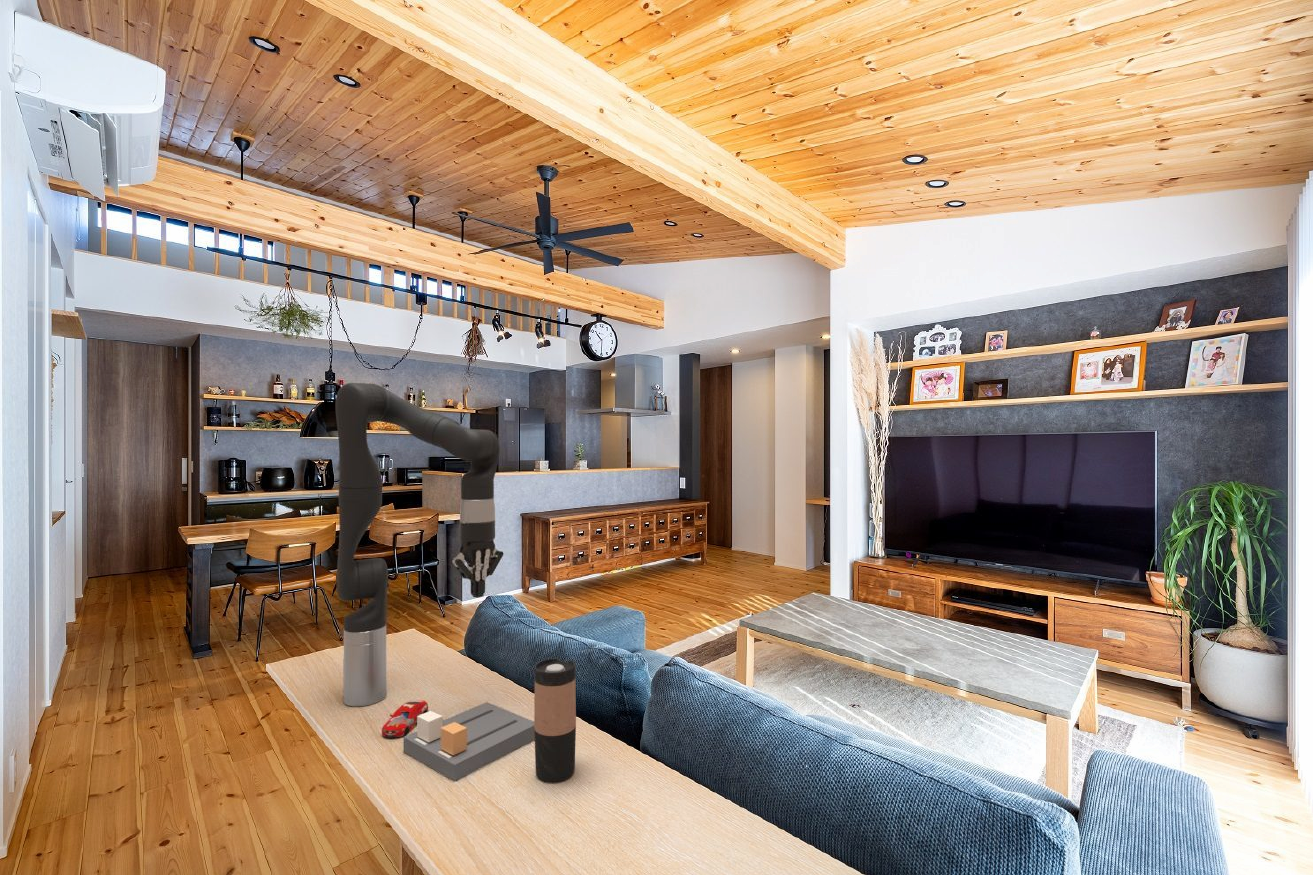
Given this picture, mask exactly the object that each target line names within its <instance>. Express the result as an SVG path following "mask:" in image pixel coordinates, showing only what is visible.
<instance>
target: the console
mask: <svg viewBox="0 0 1313 875" xmlns="http://www.w3.org/2000/svg"><path fill="white" fill-rule="evenodd" d="M453 722H456V723H458V724H460V725H462V726H464V727H466V728H467V749H466V750H464V751H462V752H460V753H457V754H455V755H451V754H449V753H448V752H446V751H444V750H442V749H441V737H440V738H438V739H436V740H433V741H431V742H427V741H425V740H423V739H421V738H419V737H417V731H415V732H412V733H410V734H407V735H406V736H402V737H403V738H402V739H403V742H402V743H403V753H404V754H406V755H408V756H409V757H411V758H413V759H415V760H416V761H418V762H420V763H422V764H423V765H425V766H427V767H428V768H430V769H432V770H434V771H435V772H437V773H439V774H441V775H443V776H444V777H446V778H448V779H449V780H452V781H453V782H456V781H458V780H460V779H462V778H464V777H466V776H468V775H469V774H472V773H473V772H475V771H477V770H480V769H481V768H483V767H485V766H487V765H489V764H490V763H492V762H494V761H497V760H498V759H501V758H502V757H504V756H506V755H508V754H510V753H511V752H514V751H516V750H517V749H520V748H521V747H523V746H525V745H527V744H529V743H531V742H533V741H535V735H534V720H532V719H529V718H527V717H524V716H522V715H520V714H517V713H514V712H511V710H510V711H509V710H507V709H505V708H503V707H501V706H498V705H495V704H492V703H490V702H488V701H486V702H483V703H481V704H479V705H477V706H474V707H471V708H470V709H467V710H464V711H463V712H460V713H458V714H455V715H453V716H450V717H448V718H445V719H442V727H444V726H446V725H448V724H451V723H453Z"/></svg>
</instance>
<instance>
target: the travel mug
mask: <svg viewBox="0 0 1313 875" xmlns="http://www.w3.org/2000/svg"><path fill="white" fill-rule="evenodd" d="M576 692H577V691H576V664H575V662H574V660H571V659H569V660H567V661H562V660H560V659H559V658H557V657H556V658H555V657H551V658H545V659H543V660H541V661H539V662H537V663H536V664H535V666H534V701H533V702H534V706H533V708H534V715H533V717H534V718H533V719H534V720H533V721H534V735H535V740H534V756H535V757H534V758H535V759H534V760H535V761H534V762H535V775H536V776H535V777H536V778H537V779H538V780H539V781H541V782H543V783H546V784H558V783H563V782H566V781H567V780H569V779H570V778H572V777H573V776H574V773H575V767H576V736H577V735H576V734H577V733H576V732H577V710H576V709H577V708H576V706H577V704H576V699H577V698H576V695H577V694H576Z"/></svg>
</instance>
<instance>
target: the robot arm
mask: <svg viewBox="0 0 1313 875" xmlns="http://www.w3.org/2000/svg"><path fill="white" fill-rule="evenodd" d="M335 417H336V418H335V419H336V428H337V436H338V437H337V438H338V451H339V452H338V454H339V455H338V457H339V458H338V459H339V461H338V462H339V477H338V478H339V480H338V515H339V516H338V517H339V518H338V519H339V520H338V521H339V536H338V537H339V538H338V539H339V540H338V552H337V553H338V554H337V566H336V592H337V596H338V598H339V600H340V601H343V602H349V601H358V600H365V599H370V600H369V601H368V602H367V603H366V604H365V605H363V606H362V607H360V608H359V609H357V610H354V611H353V612H351V613H349V614H347V615H346V616H345V617H344V619H343V659H342V660H343V662H342V663H343V672H342V673H343V676H342V678H343V680H342V682H343V684H342V687H343V691H342V692H343V697H342V698H343V703H344V705H346V706H347V707H348V706H349V707H364V706H368V705H369V706H370V705H373V704H377V703H378V702H381V701H383V700H384V699H385V698H386V696H387V680H388V678H387V675H388V673H387V606H388V605H387V602H388V601H387V600H388V584H389V582H388V581H389V571H388V565H387V563H386V560H385V559H384V558H382V557H377V558H366V559H357V560H354V558H355V556H356V551H357V548H358V545H359V544H360V541H361V539H362V537H363V535H364V534H365V533H366V531H367V530H368V528H369V527H370V525H371V524H372V523H373V522H374V520H375V518H376V517H377V515H378V514H379V512H380V509H381V508H382V506H383V505H382V504H383V477H382V473H381V471H380V469H379V467H378V464H377V463H376V461H375V458H374V457H373V455H372V452H371V451H370V448H369V444H368V437H367V436H368V435H367V434H368V433H367V429H368V428H367V427H368V423H375V422H380V423H381V422H382V423H385V424H386V423H388V424H392V425H396V426H398V427H401V428H402V429H404V430H405V431H406V432H408V433H409V434H410V435H412V436H413V437H415V438H416V439H418V440H420V441H421V442H425V443H427V444H430V445H432V446H434V447H437V448H440V449H442V450H444V451H445V452H447V453H448V454H451V455H452V456H454V457H456V458H457V459H460V460H463V461H466V462H470V467H469V470H468V471H467V472H465V473H464V474H463V475H462V476H461V482H460V492H461V493H460V495H461V496H460V497H461V498H460V507H459V540H460V543H461V544H460V548H459V552H458V553H459V554H457V556H456V557H452V558H451V559H450V561H449V562H450V563H451V565H452V566H453V567H454V568H455V570H456V571H457V572H458V574H459V575H460V577H461V578H462V579H467V580H469V581H470V594H471V596H472V597H473V598H476V599H477V598H483V597H484V595H485V593H486V579H487V578H488V577H489V576H493V575H494V572H495V571H496V569H497V567H498V565H499V564H500V561H501V560H502V558H503V556H504V552H503V551H502V550H498V549H497V548H496V544H495V542H494V540H495V538H496V506H495V487H494V486H495V481H494V480H495V476H496V472H497V469H498V464H499V459H500V454H501V453H500V446H501V445H500V442H499V438H498V437H497V434H495V433H494V432H493V431H491V430H489V429H476V428H475V429H474V428H473V429H472V428H469V427H465V426H463V425H461V424H460V422H458V421H456V420H455V419H453V418H451V417H447V416H445V415H442V414H441V413H437V412H434V411H431V410H429V409H426V408H423V407H420V406H419V405H416V404H413V403H412V402H409V401H407V400H405V399H403V398H401V397H400V396H398V395H397V394H395V393H393V392H392V391H390V390H388V389H387V388H384V387H383V386H381V385H379V384H375V383H365V382H362V383H361V382H350V383H344V384H343V385H342V386H341V387H340V388H339V390H338V391H337V394H336V396H335Z"/></svg>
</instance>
